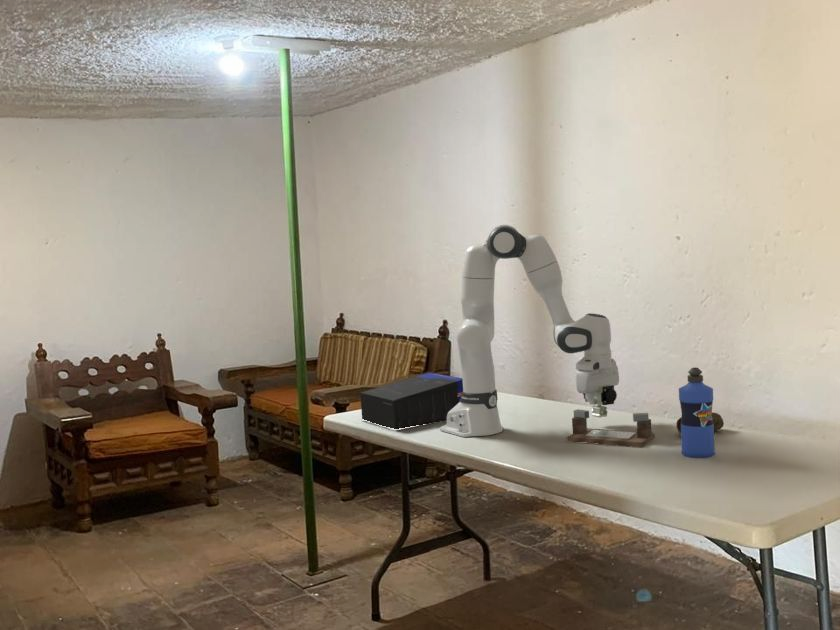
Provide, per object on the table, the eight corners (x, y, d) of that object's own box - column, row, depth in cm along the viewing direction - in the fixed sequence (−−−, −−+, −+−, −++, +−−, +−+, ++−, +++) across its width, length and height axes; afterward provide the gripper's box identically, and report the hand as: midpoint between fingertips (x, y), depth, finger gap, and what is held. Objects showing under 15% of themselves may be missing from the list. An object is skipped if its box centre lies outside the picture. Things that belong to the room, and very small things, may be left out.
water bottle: (674, 452, 239) (670, 368, 237) (699, 447, 243) (696, 364, 240) (696, 459, 231) (692, 372, 228) (722, 454, 234) (719, 368, 232)
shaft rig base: (567, 441, 260) (566, 421, 259) (581, 432, 271) (580, 413, 270) (642, 447, 247) (641, 426, 247) (654, 437, 258) (653, 417, 258)
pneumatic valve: (592, 413, 283) (592, 378, 282) (617, 418, 273) (617, 382, 272) (580, 414, 280) (580, 380, 279) (604, 420, 270) (604, 384, 269)
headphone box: (474, 415, 309) (472, 377, 308) (395, 431, 291) (393, 392, 289) (438, 406, 330) (435, 371, 329) (362, 421, 311) (359, 384, 310)
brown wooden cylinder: (691, 440, 253) (691, 418, 252) (675, 436, 259) (674, 415, 258) (726, 431, 259) (725, 411, 259) (709, 428, 266) (708, 407, 265)
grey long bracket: (569, 435, 262) (568, 413, 261) (578, 429, 269) (577, 408, 268) (645, 440, 249) (644, 417, 249) (652, 434, 256) (651, 412, 255)
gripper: (607, 357, 284) (608, 396, 285) (572, 365, 270) (573, 406, 271) (623, 358, 280) (624, 398, 281) (588, 366, 266) (589, 408, 267)
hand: (598, 402), depth 276 cm, fingers closed on pneumatic valve, 5 cm apart
